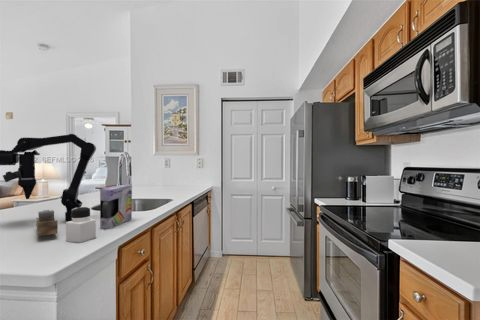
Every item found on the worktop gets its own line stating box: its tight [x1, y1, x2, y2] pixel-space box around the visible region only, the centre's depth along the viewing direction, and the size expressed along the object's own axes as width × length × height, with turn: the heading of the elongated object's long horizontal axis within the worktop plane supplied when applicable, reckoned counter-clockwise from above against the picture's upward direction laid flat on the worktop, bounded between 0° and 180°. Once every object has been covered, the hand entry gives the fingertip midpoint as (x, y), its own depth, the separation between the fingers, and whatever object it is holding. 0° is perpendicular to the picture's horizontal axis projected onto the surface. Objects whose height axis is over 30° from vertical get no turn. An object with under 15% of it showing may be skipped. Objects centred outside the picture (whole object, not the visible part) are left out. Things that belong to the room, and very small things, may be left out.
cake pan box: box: [99, 184, 133, 230], centre depth 127 cm, size 19×5×18 cm, turn 170°
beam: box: [35, 217, 59, 237], centre depth 111 cm, size 6×23×7 cm, turn 38°
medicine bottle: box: [65, 206, 97, 244], centre depth 104 cm, size 7×7×12 cm
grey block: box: [38, 209, 55, 222], centre depth 111 cm, size 5×4×6 cm
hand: (27, 198), depth 126 cm, fingers closed
